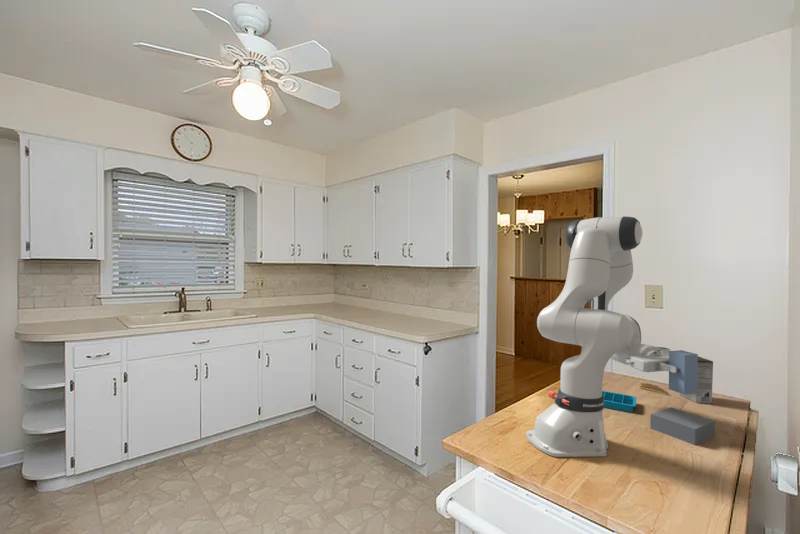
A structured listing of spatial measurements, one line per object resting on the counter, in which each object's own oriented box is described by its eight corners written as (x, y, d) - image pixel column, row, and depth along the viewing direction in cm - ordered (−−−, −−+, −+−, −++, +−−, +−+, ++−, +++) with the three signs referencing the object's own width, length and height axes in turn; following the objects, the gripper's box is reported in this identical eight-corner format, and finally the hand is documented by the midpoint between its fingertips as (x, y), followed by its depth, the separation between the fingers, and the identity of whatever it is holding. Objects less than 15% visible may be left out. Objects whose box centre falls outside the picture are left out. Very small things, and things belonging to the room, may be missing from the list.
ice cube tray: (577, 393, 149) (577, 386, 149) (636, 404, 138) (636, 396, 138) (572, 402, 139) (572, 394, 139) (635, 415, 128) (635, 406, 128)
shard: (668, 396, 147) (669, 392, 147) (647, 395, 148) (647, 391, 148) (655, 387, 157) (655, 383, 157) (635, 386, 159) (635, 382, 159)
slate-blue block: (684, 394, 111) (684, 355, 111) (668, 389, 116) (669, 351, 116) (697, 393, 112) (697, 354, 112) (681, 387, 117) (681, 350, 117)
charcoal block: (694, 446, 106) (695, 429, 106) (650, 429, 117) (650, 413, 117) (714, 437, 112) (715, 421, 112) (670, 422, 122) (671, 407, 122)
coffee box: (678, 394, 148) (678, 354, 148) (694, 394, 148) (695, 354, 147) (695, 403, 139) (696, 360, 139) (713, 403, 139) (713, 360, 138)
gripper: (621, 350, 124) (658, 361, 111) (670, 347, 129) (711, 357, 116) (621, 368, 125) (658, 382, 111) (669, 365, 129) (711, 377, 116)
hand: (685, 369), depth 113 cm, fingers closed on slate-blue block, 5 cm apart
